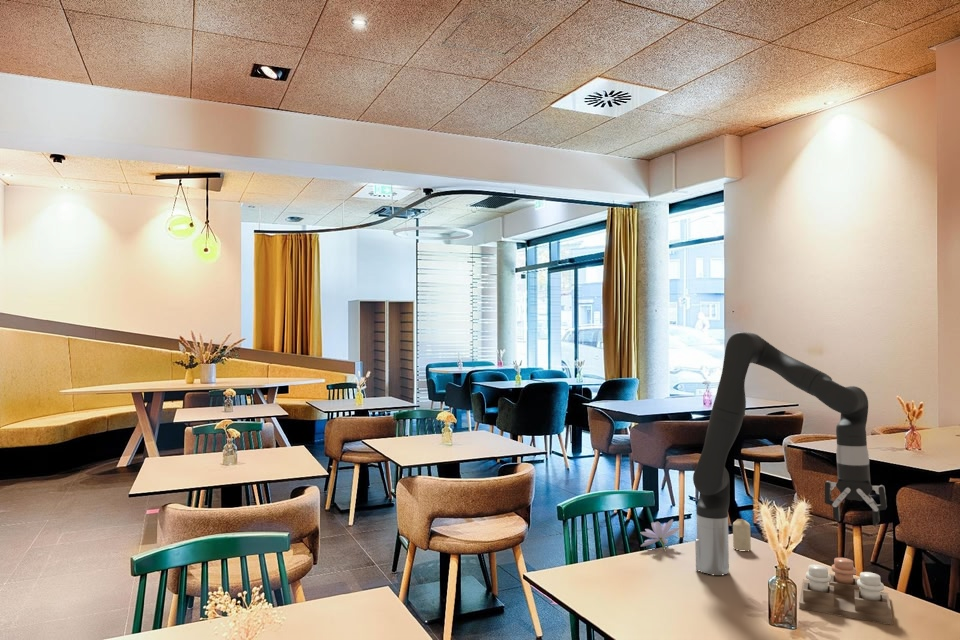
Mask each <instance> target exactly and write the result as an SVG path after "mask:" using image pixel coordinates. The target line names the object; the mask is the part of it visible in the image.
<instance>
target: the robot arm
mask: <svg viewBox="0 0 960 640" xmlns="http://www.w3.org/2000/svg"><path fill="white" fill-rule="evenodd" d="M723 356H724V357H723V362H722V369H721V375H720V379H719V382H718V387H717V390H716V394H715V397H714V401H713V404H712V407H711V411H710V416H709V420H708V425H707V429H706V434H705V438H704V444H703V447H702V451H701V453H700V456H699V459H698V461H697V464H696V467H695V469H694V472H693V476H692V481H693V485H694V487H695V489H696V490H697V492H698V493H699V496H698V500H697V503H696V506H695V508H696V511H695V513H696V539H695V544H694V545H695V571H696V570H700V571H702V572H704V573H708V574H714V575H722V574H727V573H728V572H730V564H729V561H730V560H729V559H730V557H729V554H730V553H729V507H730V497H731V495H730V490H731V487H730V486H731V485H730V484H731V483H730V473H729V471H728V470H727V468H726V462H727V458H728V455H729V452H730V451H731V448H732V446H733V445H734V443H735V441H736V439H737V436H738V435H739V432H740V430H741V427H742V424H743V421H744V417H745V413H746V409H747V406H746V405H747V400H746V398H747V397H746V390H745V389H746V388H745V382H746V376H747V373H748V370H749V366H750V364H754V365H758V366H761V367H764V368H767V369H768V370H771V371H773V372H774V373H775V374H778V375H779V376H780V377H782V378H783V379H784V380H785V381H786V382H788V383H789V384H791V385H793V386H794V387H795V388H797V389H799V390H802V391H803V392H805V393H807V394H809V395H810V396H813V397H815V398H816V399H818V400H819V401H820V402H821V403H823V404H824V405H826V406H827V407H828V408H829V409H831V410H833V411H835V412H837V413H840V420H839V422H838V423H837V425H836V429H835V434H836V435H835V436H836V455H835V456H836V469H837V470H836V471H837V481H836V482H834V481H830V480H826V481H825V482H824V503H825V504H826V505H829V506H831V507H832V517H833V519H834V520H836V522H840V521H841V512H840V506H839V505H840V504H841V502H843V500H844V499H846V500H848V501H858V502H862V501H864V502H865V503H866V504H867V505H868V506H869V507H870V508H871V509H872V513H871V515H872V526H875V527H876V526H877V525H879V523H880V520H881V519H880V511H886V510H887V508H888V504H887V503H888V502H887V495H886V488H885V485H883V484H880V485H873V484H872V482H871V472H870V457H869V456H870V455H869V450H868V442H867V441H868V440H867V431H866V430H867V428H866V427H867V422H868V414H869V413H868V412H869V400H868V399H869V398H868V396H867V394H866V392H865V390H863V389H862V388H860V387H858V386H854V385H849V386H843V385H842V384H839V383H837V382H836V381H834V380H833V378H832V377H831V376H829V375H828V374H827V373H825V372H823V371H821V370H818V369H817V368H816V367H813V366H811V365H809V364H806V363H804V362H803V361H800V360H798V359H796V358H794V357H792V356H790V355H789V354H787V353H784V352H783V351H782V350H780V349H778V348H777V347H775V346H774V345H772V344H771V343H769V342H768V341H766V340H765V339H764V338H763V337H762V336H760V335H758V334H756V333H751V332H745V331H739V332H735V333H734V334H732V335H730V336H729V338H728V339H727V342H726V344H725V350H724V355H723ZM835 487H836V489H837V491H839V492H840V494H839V495H838V497H836V498H835V499H834V500H833V499H832V491H833V490H834V488H835ZM873 491H875V494H876V495H879V502H880V504H877V503H876V501H875V500H874V498H873V497H872V496H871V495H870V494H871V493H872V492H873ZM702 572H701V573H702ZM704 573H703V574H704ZM708 574H707V575H708ZM728 574H729V573H728ZM728 574H727V575H728ZM714 575H713V576H714ZM722 576H723V575H722Z"/></svg>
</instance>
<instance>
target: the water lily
mask: <svg viewBox="0 0 960 640" xmlns="http://www.w3.org/2000/svg"><path fill="white" fill-rule="evenodd" d="M650 524H651V529H652V530H651V529H649V528H645V529H644V530H645V531H640V533H639V534H641V535H642V536H644V537H647V538H650V539H645V540H644V542H643V543H642V544H640V547H641V548H642V547H647V546H650V545H653V544H655V543H657V542H660V543H661V545H662V548H663V549H664V547H665V548H666V545H667V544H668V543H669V540H668V539H667V538H669V537H671V536H673V535H674V534H676V533H677V532H679V531H680V529H681V527H673V528H672V529H671V527H672V525H673V524H674V519H673V518H672V519H670V520H669V521H668V522H664V523H663V524H661V522H659V521H655V522H654V521H652V522H651V523H650Z"/></svg>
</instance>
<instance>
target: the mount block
mask: <svg viewBox="0 0 960 640" xmlns="http://www.w3.org/2000/svg"><path fill="white" fill-rule="evenodd" d="M829 575H830V576H831V582H828V591H827V592H819V591H813V590H811V589H810V587H809V579H803V580H802V584H801V585H802V586H801V590H800V595H799V596H800V597H799V602H798V606H799V607H798V608H799V609H801V610H807V611H812V612H818V613H823V614H829V615H835V616H840V617H847V618H851V619H857V620H863V621H867V620H868V622H873V621H874V622H873V623H879V624H884V623H885V624H884V625H889V624H890V626H893V623H894V621H893V620H894V619H893V615H892V608H891V602H890V596H889V592H885V591H880V598H881V600H880V601H874V600H868V599H864V598H862V597H861V588H860V587H858V586H857V580H858V579H860V577H859V578H858V577H853V584H844V583H838V582H836V581H835V574H834V573H833V574H832V573H830V574H829Z"/></svg>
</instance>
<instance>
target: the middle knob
mask: <svg viewBox="0 0 960 640" xmlns="http://www.w3.org/2000/svg"><path fill="white" fill-rule="evenodd" d="M833 560H834V563H833V564H832V565H831V571H832V572H834V575H835V581H836V582H838V583H844V584H853V578H854V576H855V575H856V574H857V568H856V567H854V560H852V559H850V558H846V557H834V559H833Z"/></svg>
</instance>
